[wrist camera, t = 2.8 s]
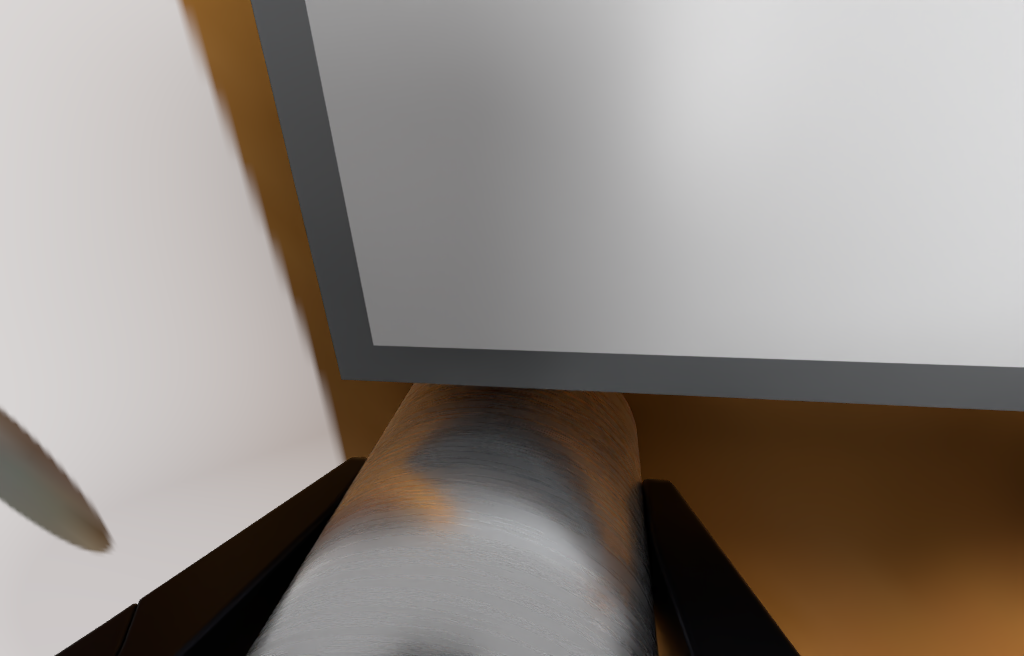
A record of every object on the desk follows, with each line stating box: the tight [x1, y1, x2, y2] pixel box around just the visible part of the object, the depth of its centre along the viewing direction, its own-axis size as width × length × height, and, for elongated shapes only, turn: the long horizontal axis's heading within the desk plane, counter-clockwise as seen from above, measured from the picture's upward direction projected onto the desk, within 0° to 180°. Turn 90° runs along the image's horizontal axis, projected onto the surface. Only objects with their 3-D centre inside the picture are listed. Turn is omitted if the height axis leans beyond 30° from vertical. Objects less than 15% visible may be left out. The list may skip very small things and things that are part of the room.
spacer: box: [246, 383, 659, 656], centre depth 7 cm, size 4×4×6 cm
